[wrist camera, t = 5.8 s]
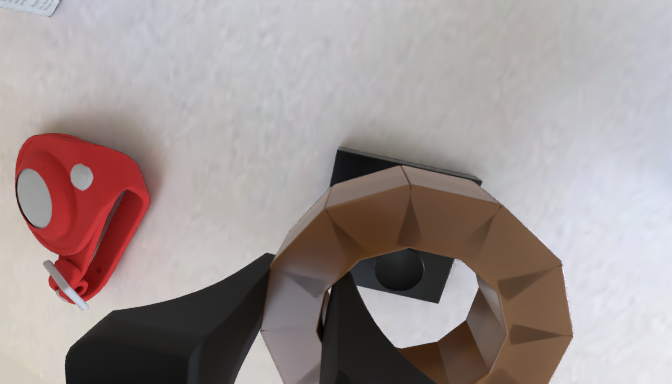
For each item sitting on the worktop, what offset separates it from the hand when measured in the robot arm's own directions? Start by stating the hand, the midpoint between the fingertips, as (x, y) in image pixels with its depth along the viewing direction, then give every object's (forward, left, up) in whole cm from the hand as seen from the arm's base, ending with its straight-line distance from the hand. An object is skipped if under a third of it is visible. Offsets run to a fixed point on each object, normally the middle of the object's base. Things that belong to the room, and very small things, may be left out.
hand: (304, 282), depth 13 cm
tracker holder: (+17, +4, -9) cm, 20 cm away
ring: (-4, 0, -1) cm, 4 cm away
